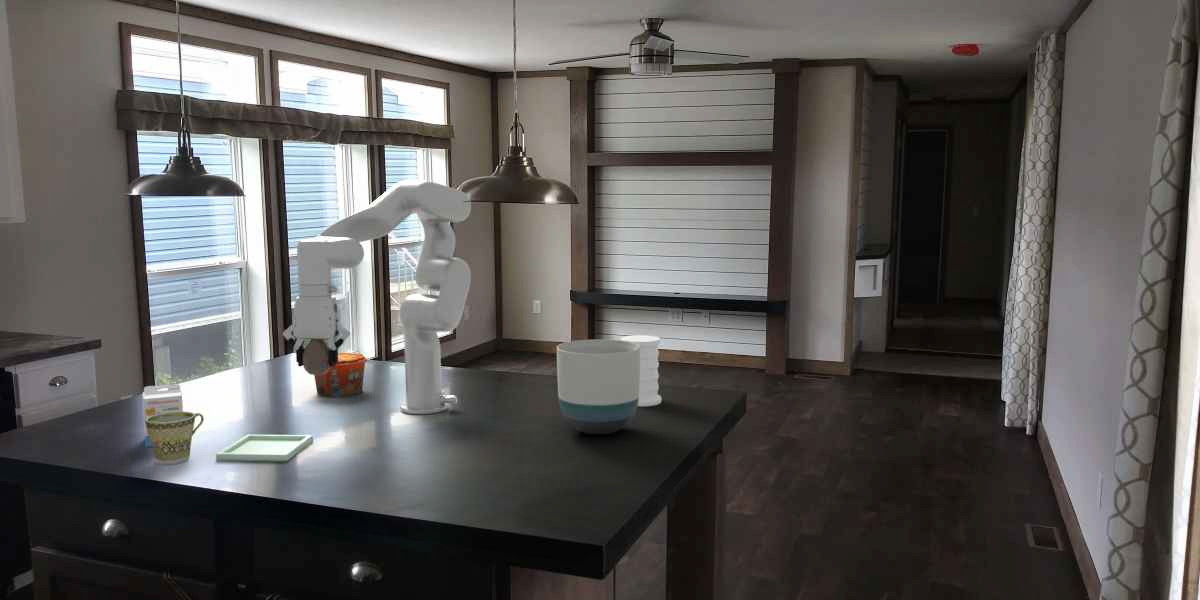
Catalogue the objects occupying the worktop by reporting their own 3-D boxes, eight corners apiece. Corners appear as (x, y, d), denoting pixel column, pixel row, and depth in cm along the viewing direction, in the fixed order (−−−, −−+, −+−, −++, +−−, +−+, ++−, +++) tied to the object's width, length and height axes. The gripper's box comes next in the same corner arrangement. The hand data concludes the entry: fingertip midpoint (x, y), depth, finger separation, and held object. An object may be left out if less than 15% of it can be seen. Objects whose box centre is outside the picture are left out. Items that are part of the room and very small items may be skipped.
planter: (599, 416, 239) (599, 336, 236) (657, 431, 225) (657, 346, 222) (540, 431, 225) (539, 346, 222) (598, 448, 210) (597, 357, 208)
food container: (379, 390, 271) (378, 355, 270) (337, 401, 258) (336, 364, 256) (342, 384, 280) (340, 350, 278) (300, 394, 266) (298, 358, 265)
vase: (314, 377, 213) (313, 340, 212) (296, 373, 217) (295, 337, 216) (338, 372, 218) (337, 336, 217) (321, 369, 222) (320, 334, 221)
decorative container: (655, 407, 249) (655, 342, 246) (614, 404, 252) (614, 340, 250) (665, 398, 259) (666, 336, 257) (627, 395, 263) (627, 334, 261)
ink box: (145, 447, 213) (141, 391, 211) (144, 439, 220) (140, 385, 219) (185, 442, 217) (182, 388, 215) (183, 434, 224) (180, 381, 223)
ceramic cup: (165, 470, 196) (162, 425, 195) (138, 462, 201) (135, 418, 200) (218, 454, 207) (216, 412, 206) (192, 448, 212) (189, 406, 211)
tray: (313, 441, 218) (312, 435, 217) (286, 461, 202) (286, 454, 202) (247, 440, 219) (247, 434, 218) (216, 460, 203) (215, 454, 202)
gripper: (356, 290, 218) (358, 363, 220) (285, 289, 219) (287, 362, 221) (346, 293, 211) (348, 369, 213) (272, 292, 212) (275, 368, 214)
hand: (317, 365), depth 217 cm, fingers closed on vase, 6 cm apart
